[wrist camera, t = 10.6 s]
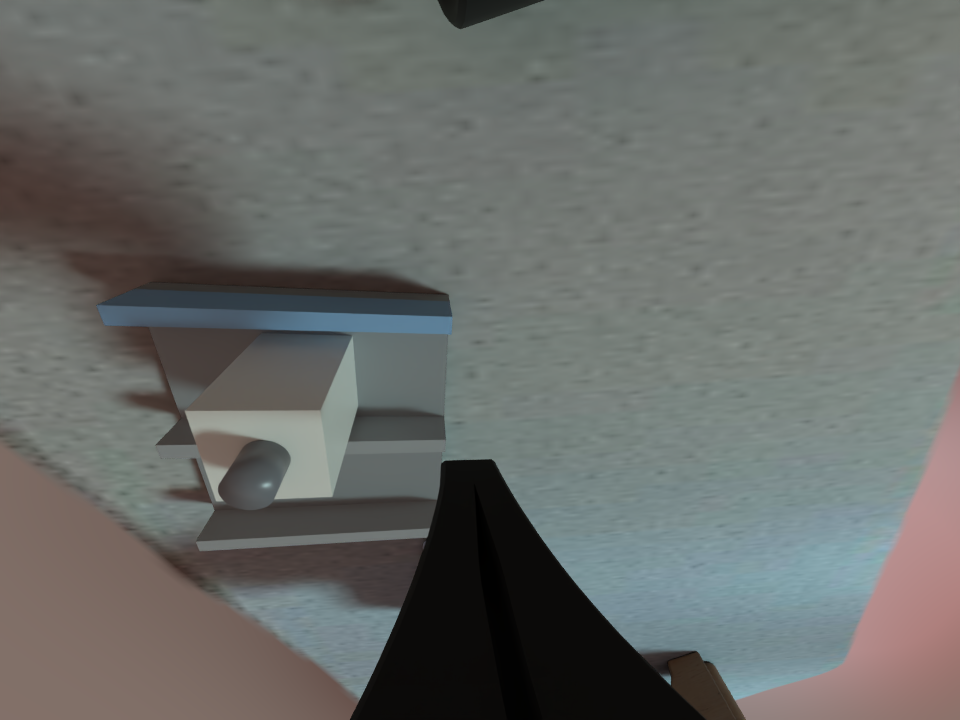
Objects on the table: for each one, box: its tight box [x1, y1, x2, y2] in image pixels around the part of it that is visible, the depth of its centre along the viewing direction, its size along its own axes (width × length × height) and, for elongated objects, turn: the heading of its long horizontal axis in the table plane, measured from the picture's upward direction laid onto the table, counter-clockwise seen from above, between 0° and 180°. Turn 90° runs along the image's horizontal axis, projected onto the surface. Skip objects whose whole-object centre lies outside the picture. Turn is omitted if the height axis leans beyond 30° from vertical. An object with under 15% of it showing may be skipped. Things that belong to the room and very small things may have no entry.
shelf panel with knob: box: [96, 282, 452, 551], centre depth 19 cm, size 14×13×3 cm
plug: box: [185, 333, 358, 510], centre depth 15 cm, size 4×4×8 cm
